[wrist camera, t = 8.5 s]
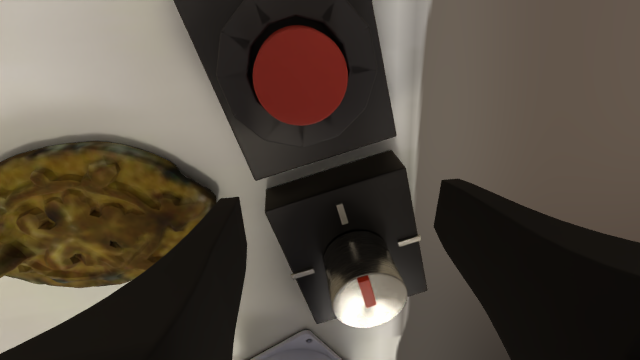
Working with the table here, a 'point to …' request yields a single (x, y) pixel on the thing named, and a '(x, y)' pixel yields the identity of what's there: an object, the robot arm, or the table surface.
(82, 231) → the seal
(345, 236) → the dial
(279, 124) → the power block
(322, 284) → the dial plate
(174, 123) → the table surface
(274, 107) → the power button
